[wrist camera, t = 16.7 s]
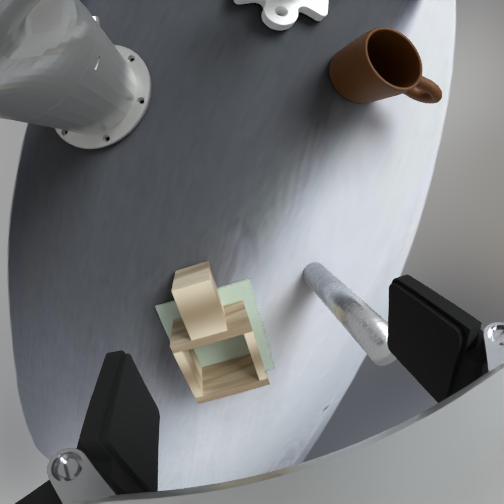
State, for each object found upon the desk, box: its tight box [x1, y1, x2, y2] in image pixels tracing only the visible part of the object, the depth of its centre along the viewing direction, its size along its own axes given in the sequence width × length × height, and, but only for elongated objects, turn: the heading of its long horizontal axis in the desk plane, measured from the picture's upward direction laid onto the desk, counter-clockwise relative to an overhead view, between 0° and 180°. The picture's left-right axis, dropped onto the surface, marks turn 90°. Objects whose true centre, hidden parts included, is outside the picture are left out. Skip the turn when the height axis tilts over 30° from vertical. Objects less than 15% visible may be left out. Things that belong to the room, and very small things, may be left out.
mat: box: [155, 279, 275, 371], centre depth 39 cm, size 14×12×1 cm
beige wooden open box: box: [170, 261, 269, 403], centre depth 35 cm, size 15×9×6 cm, turn 15°
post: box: [303, 262, 397, 366], centre depth 30 cm, size 3×3×18 cm
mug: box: [329, 27, 442, 103], centre depth 29 cm, size 12×8×9 cm, turn 71°
